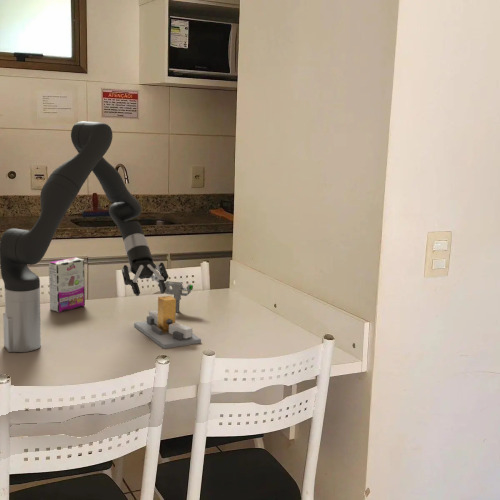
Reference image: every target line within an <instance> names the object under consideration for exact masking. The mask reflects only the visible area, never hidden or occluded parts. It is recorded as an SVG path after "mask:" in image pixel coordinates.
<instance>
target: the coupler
mask: <svg viewBox="0 0 500 500" xmlns="http://www.w3.org/2000/svg"><path fill="white" fill-rule="evenodd" d="M157 311H158V328H160V329H161V330H162V332H163V333H164V332H169V324H172V323H175V322H176V313H177V312H176V299H175V298H174V296H172V295H167V296H166V295H165V296H158V297H157Z"/></svg>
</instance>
